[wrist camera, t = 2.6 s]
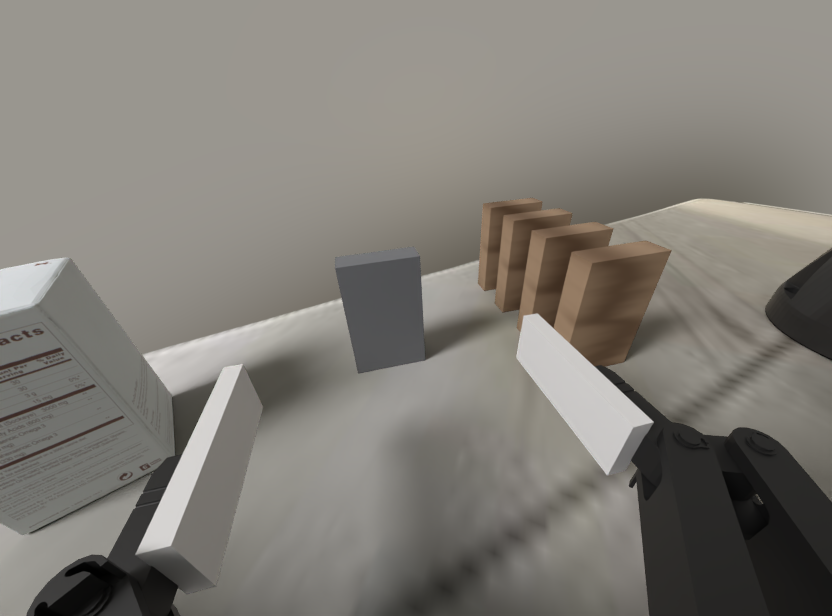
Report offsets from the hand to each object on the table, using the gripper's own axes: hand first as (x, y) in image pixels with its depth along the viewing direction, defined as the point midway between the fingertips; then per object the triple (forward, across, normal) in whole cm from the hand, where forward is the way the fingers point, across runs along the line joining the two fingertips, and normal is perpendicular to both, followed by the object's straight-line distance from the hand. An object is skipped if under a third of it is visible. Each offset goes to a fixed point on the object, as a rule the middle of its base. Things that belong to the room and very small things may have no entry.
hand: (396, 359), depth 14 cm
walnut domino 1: (+20, +16, -8) cm, 27 cm away
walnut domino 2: (+15, +16, -8) cm, 24 cm away
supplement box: (+6, -20, -9) cm, 22 cm away
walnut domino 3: (+10, +16, -8) cm, 21 cm away
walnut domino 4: (+5, +16, -8) cm, 19 cm away
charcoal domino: (+10, 0, -9) cm, 13 cm away
